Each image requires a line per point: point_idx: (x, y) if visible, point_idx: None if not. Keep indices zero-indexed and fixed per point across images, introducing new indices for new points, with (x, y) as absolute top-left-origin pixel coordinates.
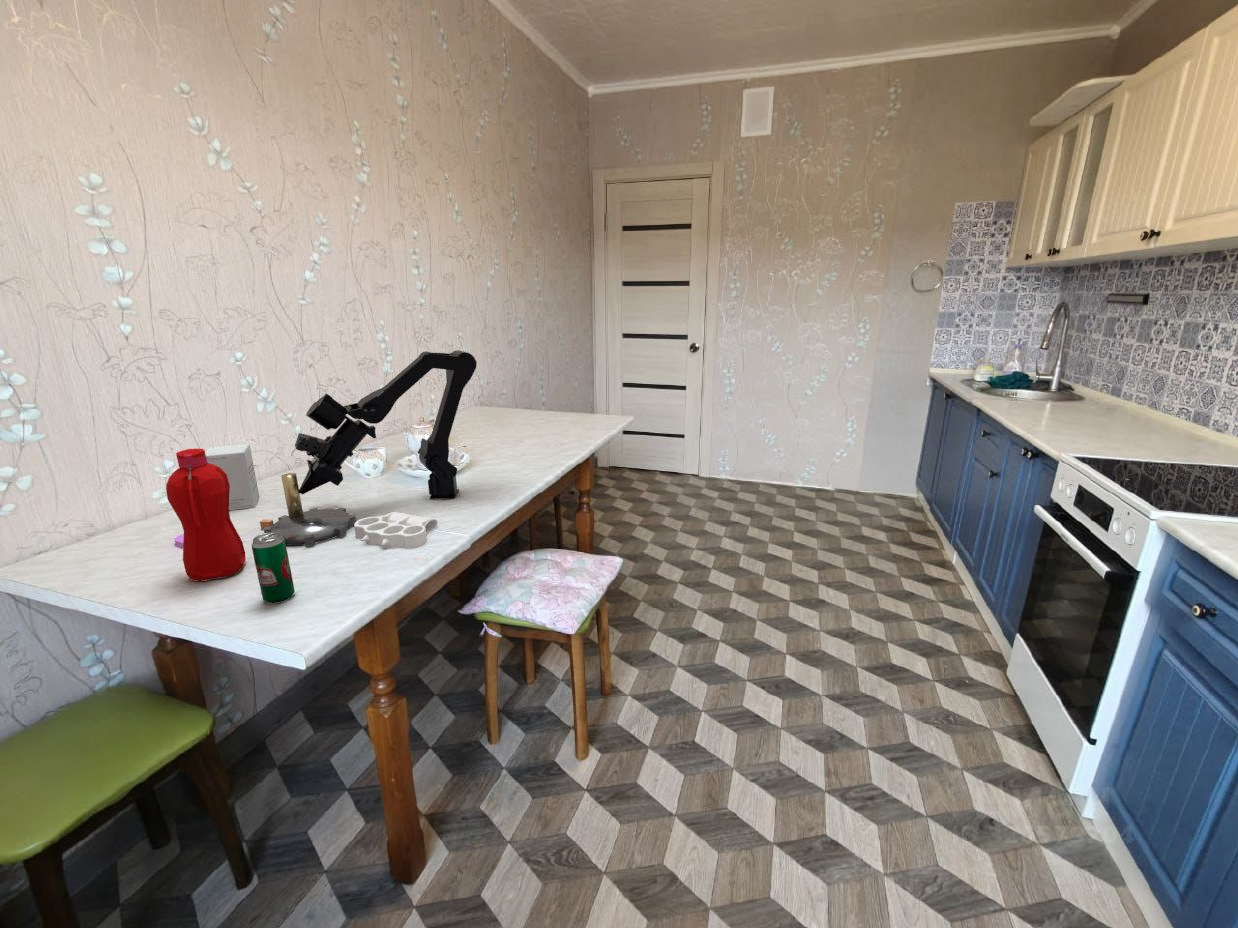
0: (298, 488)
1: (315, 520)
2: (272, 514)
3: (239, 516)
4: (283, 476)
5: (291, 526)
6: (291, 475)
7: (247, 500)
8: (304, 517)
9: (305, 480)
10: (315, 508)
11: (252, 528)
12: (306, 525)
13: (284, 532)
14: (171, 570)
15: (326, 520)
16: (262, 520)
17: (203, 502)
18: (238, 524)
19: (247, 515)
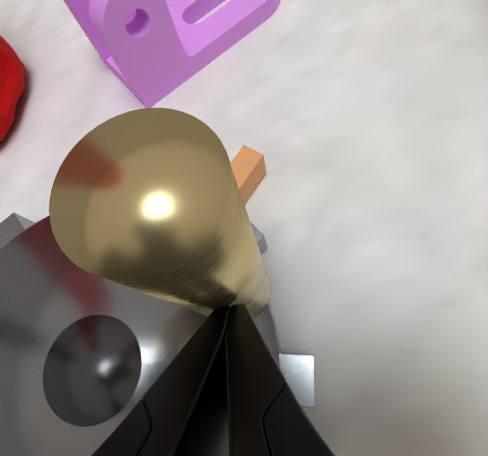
0: (181, 306)
1: (92, 390)
2: (429, 180)
3: (446, 68)
4: (109, 134)
5: (87, 277)
6: (96, 222)
7: None
8: (178, 331)
9: (177, 390)
10: (304, 392)
11: (277, 134)
12: (51, 345)
13: (34, 253)
14: (54, 16)
15: (66, 452)
16: (252, 153)
17: None
18: (346, 83)
19: (449, 91)
